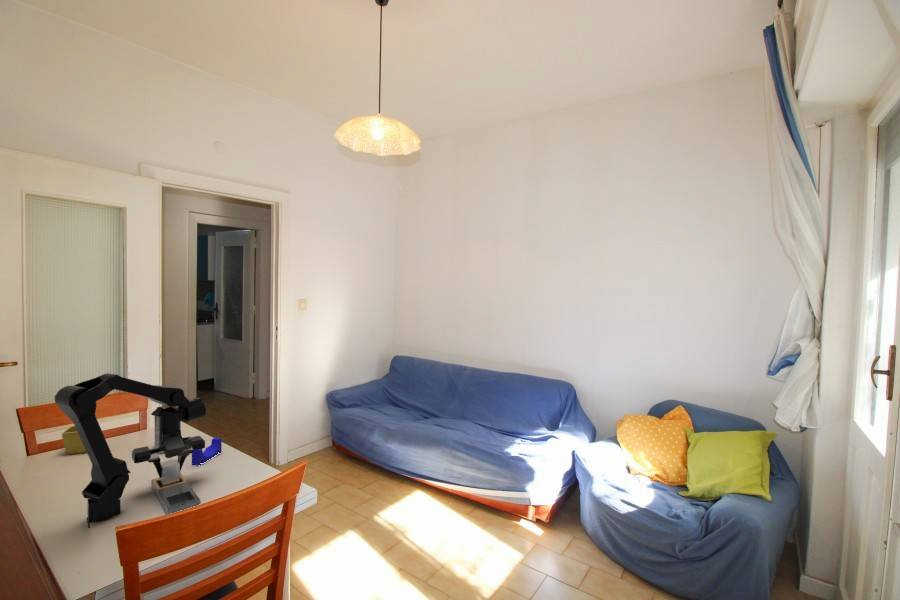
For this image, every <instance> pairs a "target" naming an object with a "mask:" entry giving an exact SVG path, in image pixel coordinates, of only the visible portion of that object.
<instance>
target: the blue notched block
mask: <svg viewBox="0 0 900 600" xmlns="http://www.w3.org/2000/svg"><path fill="white" fill-rule="evenodd" d="M192 451H193V453H191V466H192V465H201V464H200V463H204V462H206V461H207V460H209V459H211V458H212V457H214V456H215V455H217V454H218V452H219V453H221V452H223V451H222V437H221V438H220V437H213V438H211V443H210V445H209V446H206V447H205V448H204V451H203V449H199V450H193V449H192ZM221 454H222V453H221ZM214 458H215V457H214ZM211 460H212V459H211ZM209 461H210V460H209ZM206 463H207V462H206ZM204 464H205V463H204ZM201 466H202V465H201Z"/></svg>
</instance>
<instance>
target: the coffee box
mask: <svg viewBox="0 0 900 600" xmlns="http://www.w3.org/2000/svg"><path fill="white" fill-rule="evenodd" d="M160 407H161V408H167V407H172V406H167V405H161V406H160ZM173 408H177V406H176V407H173ZM153 443H154V447H153V449H154V448H159V417H158V416H154V442H153ZM162 454H163V453H161V455H162Z"/></svg>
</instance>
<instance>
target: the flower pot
mask: <svg viewBox="0 0 900 600" xmlns="http://www.w3.org/2000/svg"><path fill="white" fill-rule="evenodd" d="M61 435H62V437H61V438H62V443H63V447H64V449H65V450H66V452H67V453H69V454H70V455H75V454H81V453H82V454H83V453H87V452H86V449H85V447H84V445H83V443H82V440H81V438H80V436H79V434H78V432H77V429H76V427H75V425H71V426H70V427H68V428H66V429H65V430H64V431H63V432H61Z"/></svg>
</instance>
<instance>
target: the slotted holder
mask: <svg viewBox="0 0 900 600" xmlns="http://www.w3.org/2000/svg"><path fill="white" fill-rule="evenodd" d="M150 486H151V489H152V490H153V492H154V494H155V495H156V497H157V499H158V501H159V503H160V505H161V506H162V509H163V510H164V512H165V515H167V514H170V513H174V512H177V511H180V510H184V509H187V508H190V507H193V506H197V505H199V504H201V499H200V497H199V495H197V493H196V491H195V490H194V489H193V487H192V486H191V485H190V483H189V482H188V481H187V479H186V478H185V477H184V475H183V474H182V471H180V483H176V484H172V485H169V486H165V487H161V486H160V477H157V478H153V479H151V482H150Z"/></svg>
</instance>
